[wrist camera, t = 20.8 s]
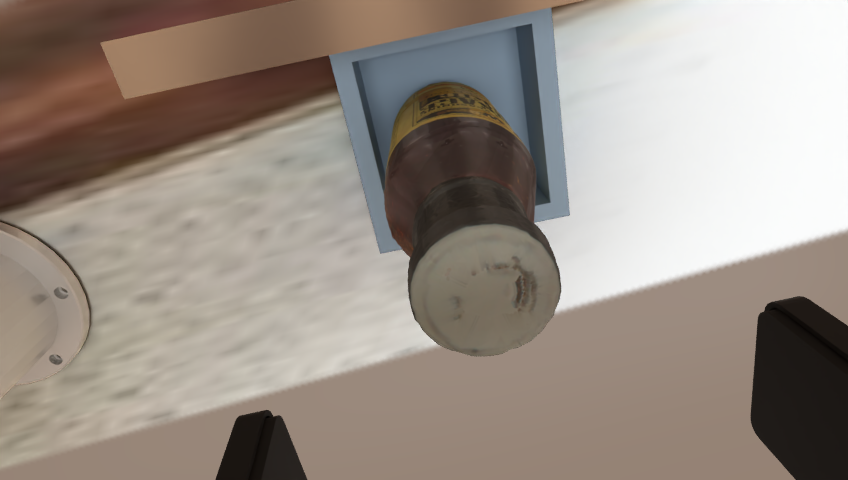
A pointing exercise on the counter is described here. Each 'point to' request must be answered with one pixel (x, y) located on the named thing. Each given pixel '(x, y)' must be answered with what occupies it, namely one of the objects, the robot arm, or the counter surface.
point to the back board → (287, 37)
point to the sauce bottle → (468, 223)
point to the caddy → (470, 65)
